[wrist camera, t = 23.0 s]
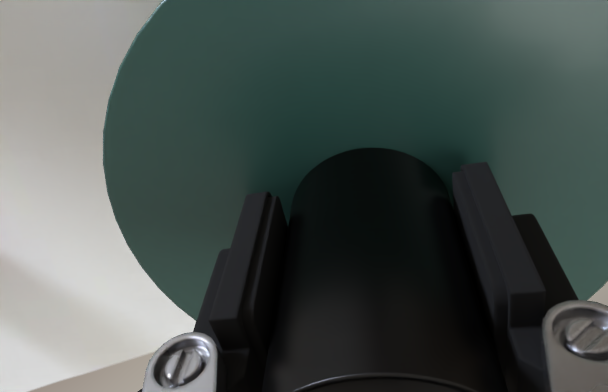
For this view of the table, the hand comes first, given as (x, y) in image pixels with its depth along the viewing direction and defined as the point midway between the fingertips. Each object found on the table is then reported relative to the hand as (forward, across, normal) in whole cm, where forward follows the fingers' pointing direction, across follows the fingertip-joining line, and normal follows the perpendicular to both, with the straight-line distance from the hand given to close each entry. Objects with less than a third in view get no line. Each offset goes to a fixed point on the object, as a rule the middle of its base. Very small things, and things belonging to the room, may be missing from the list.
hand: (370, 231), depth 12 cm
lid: (+1, 0, 0) cm, 1 cm away
